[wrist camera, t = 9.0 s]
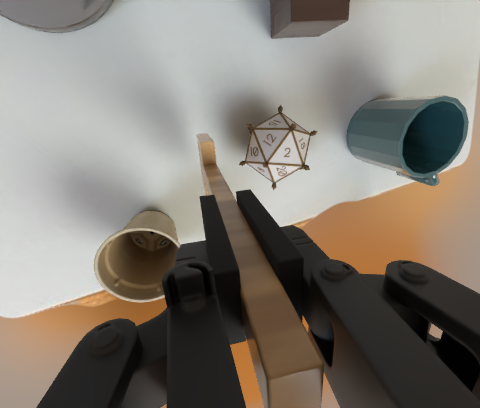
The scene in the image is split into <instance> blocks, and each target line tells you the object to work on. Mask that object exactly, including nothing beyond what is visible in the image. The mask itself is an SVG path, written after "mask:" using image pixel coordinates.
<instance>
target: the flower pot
mask: <svg viewBox="0 0 480 408" xmlns="http://www.w3.org/2000/svg"><path fill="white" fill-rule="evenodd" d="M151 231H152V232H153V234H151ZM136 238H138V239H139V240H140V241H141V242H142V244H140V243H139V242H138V241H137V240H136ZM165 239H167V240H168V242H167V243H165V244H163V245H160V243H162V242H163V241H164V240H165ZM180 246H181V245H180V243H179V242H178V239H177V235H176V229H175V225H174V223H173V221H172V220H171V219H170V218H169V217H168V216H167V215H165V214H164V213H161V212H156V211H144V212H141V213H139V214H137V215H136V216H135V217H133V219H132V220H131V221H130V222H129V223H128V224H127V226H126V227H125V228H124V229H123V230H121V231H119V232H117V233H115V234H113V235H112V236H110V237H109V238H108V239H106V240H105V241H104V243H103V244H102V245H101V246H100V248H99V249H98V251H97V253H96V256H95V259H94V271H95V275H96V278H97V280H98V281H99V283H100V285H101V286H102V287H103V288H104V289H105V290H106V291H108V292H109V293H110V294H112V295H114V296H116V297H118V298H120V299H123V300H126V301H132V302H149V301H154V300H158V299H161V298H163V297H165V295H164V291H163V287H162V282H161V281H162V278H163V275H164V274H165V273H166V272H167V271H168V270H169V269H171V268H172V267H174V266H175V262H176V261H175V258H176V251H177V250H178V249H179V247H180Z"/></svg>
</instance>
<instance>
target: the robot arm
mask: <svg viewBox="0 0 480 408" xmlns="http://www.w3.org/2000/svg"><path fill="white" fill-rule="evenodd" d="M113 1H114V0H0V15H2V16H4V17H6V18H8V19H10V20H12V21H14V22H16V23H18V24H20V25H23V26H25V27H28V28H31V29H35V30H39V31H44V32H52V33H63V32H71V31H75V30H79V29H82V28H84V27H86V26H88V25H90V24H92V23H94V22H95V21H97V20H98V19H99V18H100V17H101V16H102V15H103V14H104V13H105V12H106V11H107V10H108V8H109V7H110V6H111V4H112V2H113ZM236 196H237V204H238V205H239V207H240V209H241V211H242V213H243V215H244V216H245V218H246V220H247V222H248V224H249V226H250V227H251V229H252V231H253V233H254V235H255V237H256V239H257V240H258V242H259V244H260V246H261V248H262V250H263V251H264V253H265V255H266V257H267V259H268V261H269V263H270V264H271V266H272V268H273V270H274V272H275V274H276V275H277V277H278V279H279V281H280V283H281V285H282V286H283V288H284V290H285V292H286V294H287V296H288V297H289V299H290V301H291V303H292V305H293V307H294V308H295V310H296V312H297V314H298V316H299V318H300V320H301V321H302V315H303V316H304V318H305V320H306V322H307V323H308V325H309V330H308V334H309V336H310V338H311V340H312V342H313V343H314V345H315V347H316V349H317V351H318V353H319V355H320V356H321V358H322V360H323V362H324V373H325V375H326V378H327V380H328V382H329V384H330V386H331V388H332V391H333V393H334V395H335V397H336V399H337V402H338V404H339V406H340V408H480V294H478V293H477V292H475V291H473V290H471V289H469V288H467V287H466V286H464V285H462V284H460V283H458V282H456V281H454V280H452V279H450V278H448V277H447V276H445V275H443V274H441V273H439V272H437V271H435V270H433V269H431V268H429V267H427V266H424V265H422V264H420V263H415V262H412V261H402V260H399V261H393V262H391V263H389V264H388V265H387V267H386V273H385V275H376V274H359V273H358V271H357V270H355V268H353V267H352V266H351V265H349V264H347V263H345V262H342V261H338V260H333V259H330V258H329V257H328V256H327V255H326V254H325V253H324V252H323V251H322V250H321V249H320V248H319V247H318V246H317V245H316V244H315V243H314V242H313V240H311V238H309V237H308V236H307V234H306V233H305V232H304V231H303V230H302V229H300V228H298V227H295V226H293V225H290V226H284V227H279V225H278V224H277V223H276V222H275V220H274V219H273V218H272V217H271V215H270V214H269V213H268V212H267V210H266V209H265V208H264V206H263V205H262V204H261V203H260V201H259V200H258V199H257V198H256V196H255V195H254V194H253V193H252V191H251V190H243V191H236ZM200 203H201V210H202V217H203V224H204V231H205V238H206V240H205V241H199V242H193V243H187V244H182V245H181V246H180V247H179V249H178V250H177V251H176V258H175V261H176V262H175V266H174V267H172V268H171V269H169V270H168V271H167V272H166V273H165V274H164V275H163V278H162V281H161V282H162V287H163V291H164V295H165V299H166V304H167V308H166V309H165V310H164V311H163V312H162V313H161V314H159V315H158V316H156V317H155V318H153V319H151V320H149V321H147V322H145V323H143V324H140V325H138V326H136V325H135V323H134V322H132V321H130V320H129V319H121V318H119V319H114V320H110V321H107V322H105V323H102V324H101V325H98V326H96V327H95V328H94V329H92V330H91V331H90V332H88V333H87V334H86V335H85V336H84V337H83V339H82V340H81V341H80V342H79V343H78V345H77V346H76V348H75V349H74V351H73V352H72V354H71V355H70V357H69V358H68V360H67V362H66V363H65V365H64V366H63V368H62V369H61V371H60V372H59V374H58V375H57V377H56V378H55V380H54V381H53V383H52V385H51V386H50V388H49V389H48V391H47V392H46V394H45V396H44V397H43V398H42V400H41V401H40V403H39V404H38V406H37V408H160V407H162V406H164V405H165V404H167V408H246V405H245V401H244V398H243V394H242V390H241V386H240V382H239V378H238V374H237V371H236V367H235V363H234V359H233V355H232V351H231V347H230V344H235V343H239V342H243V341H246V337H245V332H244V328H243V319H242V308H241V297H240V288H241V282H240V271H239V267H238V264H237V261H236V258H235V255H234V252H233V249H232V246H231V243H230V240H229V237H228V234H227V231H226V228H225V225H224V222H223V219H222V216H221V213H220V210H219V207H218V204H217V201H216V198H215V195H207V196H200ZM431 324H434V325H435V326H437V327H438V328H439V329H441V330H442V331H443V333H442V336H441V339H439V338H435V337H434V336H432V335H430V334H429V331H430V327H431Z"/></svg>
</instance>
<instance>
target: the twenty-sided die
mask: <svg viewBox="0 0 480 408" xmlns="http://www.w3.org/2000/svg"><path fill="white" fill-rule="evenodd" d="M282 109H283V108H282V106H281V105H280V107H279V108H278V111H279V113H278V114H276V115H274V116H272V117H271V118H269V119H267V120H265V121H264V122H262V123H260V124H259V125H257V126H255V127H253V125H251V124H247V126H248V129H250V134H251V135H250V140H249V145H248V149H247V154H246V159H245V161H242V162H240V164H239V165H242V166H243V165H245V163H247V164H248V165H249V166H251V167H252V168H254V169H255V170H256V171H258V172H259V173H260V174H262V175H263V176H265V177H266V178H267V179H269V180H270V181H271V182H273V184H272V188H273V190H274V189H275V188H276V182H278V181H280V180H281V179H283V178H285V177H286V176H288V175H290V174H292V173H293V172H295V171H297V170H299V169H305V170H310V169H309V166H307V165H305V160H306V155H307V150H308V145H309V140H310V136H313V135H315V134H316V133H317V131H313V132H311V133H309V132H307V131H306V130H304V129H303V128H302V127H300V126H299V125H298V124H296V123H295V122H293V121H292V120H291V119H289V118H288V117H287V116H285V115H284V114H283V113H282Z"/></svg>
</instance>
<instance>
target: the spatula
mask: <svg viewBox="0 0 480 408" xmlns="http://www.w3.org/2000/svg"><path fill="white" fill-rule="evenodd" d="M197 141H198V149H199V156H200V163H201V171H202V178H203V184H204V189H205V193H206V196H207V195H215V198H216V201H217V204H218V207H219V210H220V213H221V216H222V219H223V222H224V225H225V228H226V231H227V234H228V237H229V240H230V243H231V246H232V249H233V252H234V255H235V258H236V261H237V264H238V267H239V271H240V282H241V288H240V297H241V308H242V319H243V328H244V332H245V335H246V339H247V343H248V346H249V351H250V354H251V358H252V362H253V365H254V370H255V373H256V377H257V381H258V384H259V389H260V392H261V396H262V400H263V404H264V408H321V401H322V386H323V373H324V362H323V360H322V358H321V356H320V355H319V353H318V351H317V349H316V347H315V345H314V343H313V342H312V340H311V338H310V336H309V334H308V332H307V331H306V329H305V327H304V325H303V324H302V321H301V320H300V318H299V316H298V314H297V312H296V310H295V308H294V307H293V305H292V303H291V301H290V299H289V297H288V296H287V294H286V292H285V290H284V288H283V286H282V285H281V283H280V281H279V279H278V277H277V275H276V274H275V272H274V270H273V268H272V266H271V264H270V263H269V261H268V259H267V257H266V255H265V253H264V251H263V250H262V248H261V246H260V244H259V242H258V240H257V239H256V237H255V235H254V233H253V231H252V229H251V227H250V226H249V224H248V222H247V220H246V218H245V216H244V215H243V213H242V211H241V209H240V207H239V205H238V204H237V202H236V200H235V198H234V196H233V194H232V192H231V191H230V189H229V187H228V185H227V183H226V181H225V180H224V178H223V176H222V174H221V172H220V170H219V168H218V167H217V165H216V156H215V147H214V141H213V140H212V138H211V137H210V136H209V135H208V134H207V133H206V134H197Z"/></svg>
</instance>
